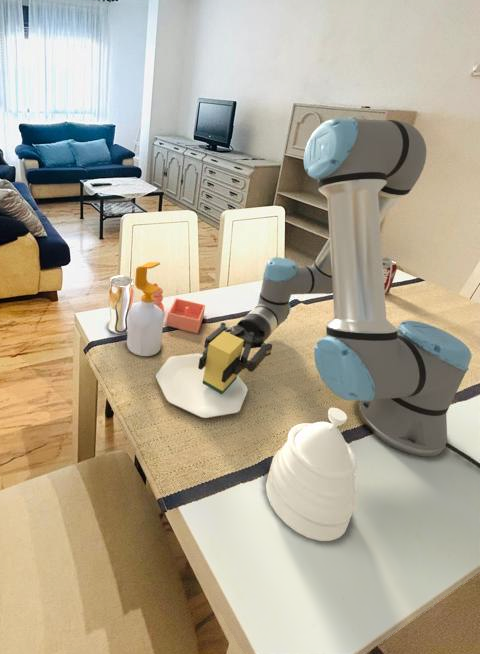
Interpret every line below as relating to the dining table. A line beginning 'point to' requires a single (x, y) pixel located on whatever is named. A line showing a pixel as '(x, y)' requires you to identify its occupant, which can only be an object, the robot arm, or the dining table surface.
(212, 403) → the plate
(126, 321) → the beer glass
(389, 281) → the soda can
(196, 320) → the pink open box
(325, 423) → the honey pot
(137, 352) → the soap bottle
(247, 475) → the dining table surface
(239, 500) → the dining table surface
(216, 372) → the sponge
